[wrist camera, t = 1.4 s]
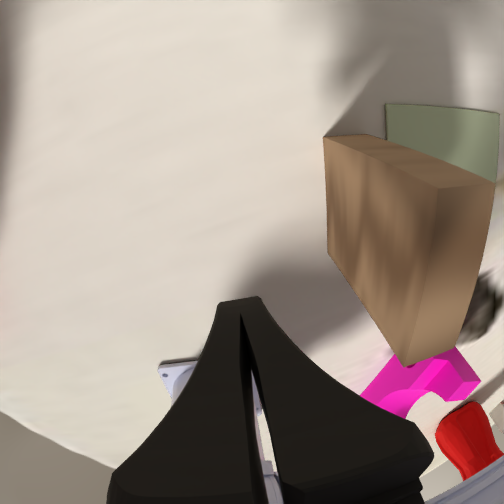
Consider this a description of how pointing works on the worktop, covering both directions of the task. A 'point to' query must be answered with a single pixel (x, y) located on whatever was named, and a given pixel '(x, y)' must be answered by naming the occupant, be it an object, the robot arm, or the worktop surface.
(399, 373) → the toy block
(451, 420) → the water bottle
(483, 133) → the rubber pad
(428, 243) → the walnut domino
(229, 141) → the worktop surface
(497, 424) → the white paper bag
